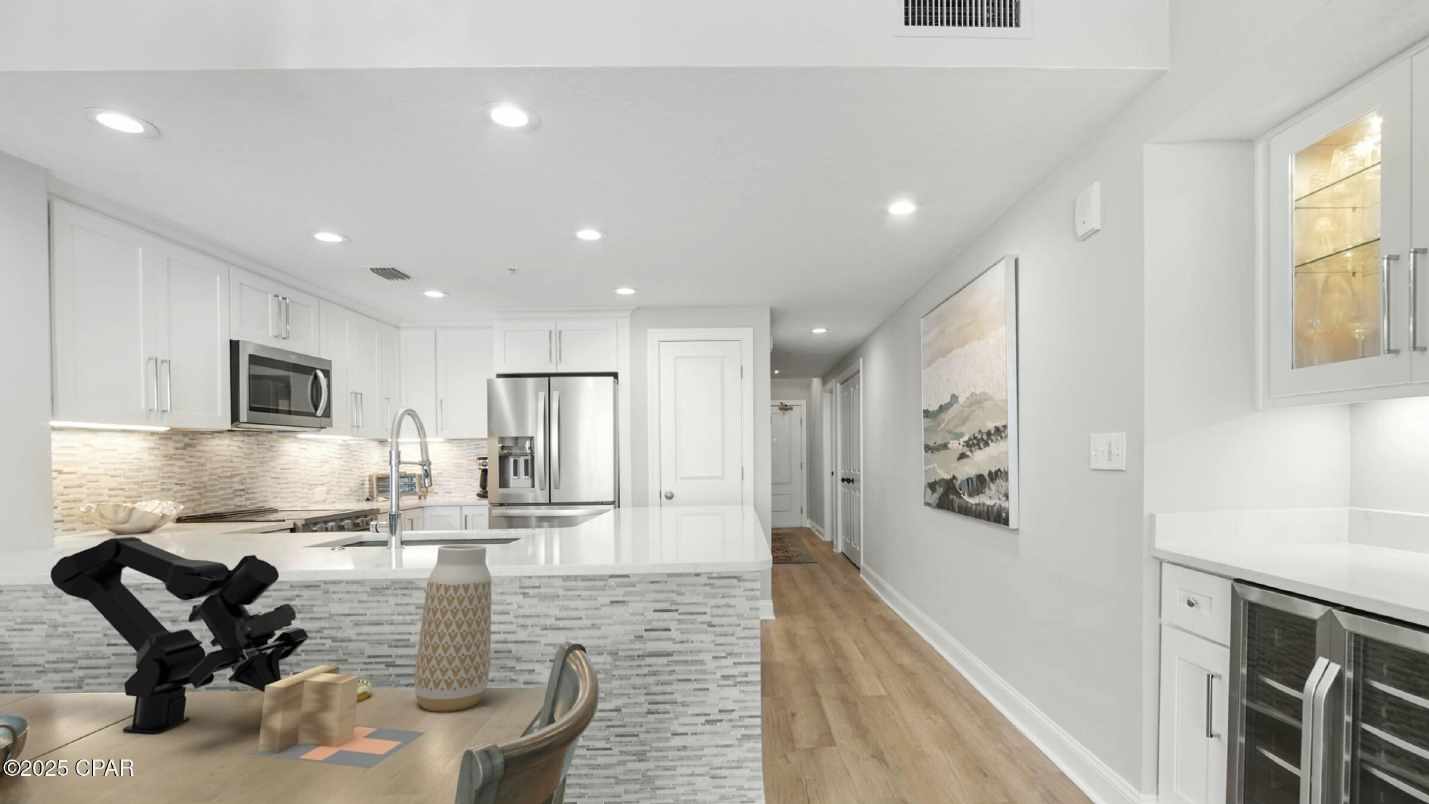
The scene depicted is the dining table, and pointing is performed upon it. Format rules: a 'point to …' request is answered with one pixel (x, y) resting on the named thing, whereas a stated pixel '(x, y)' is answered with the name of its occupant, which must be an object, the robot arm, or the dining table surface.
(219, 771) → the dining table surface
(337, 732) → the maple T block
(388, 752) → the slate mat
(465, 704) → the vase
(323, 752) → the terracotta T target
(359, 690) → the decorated donut
